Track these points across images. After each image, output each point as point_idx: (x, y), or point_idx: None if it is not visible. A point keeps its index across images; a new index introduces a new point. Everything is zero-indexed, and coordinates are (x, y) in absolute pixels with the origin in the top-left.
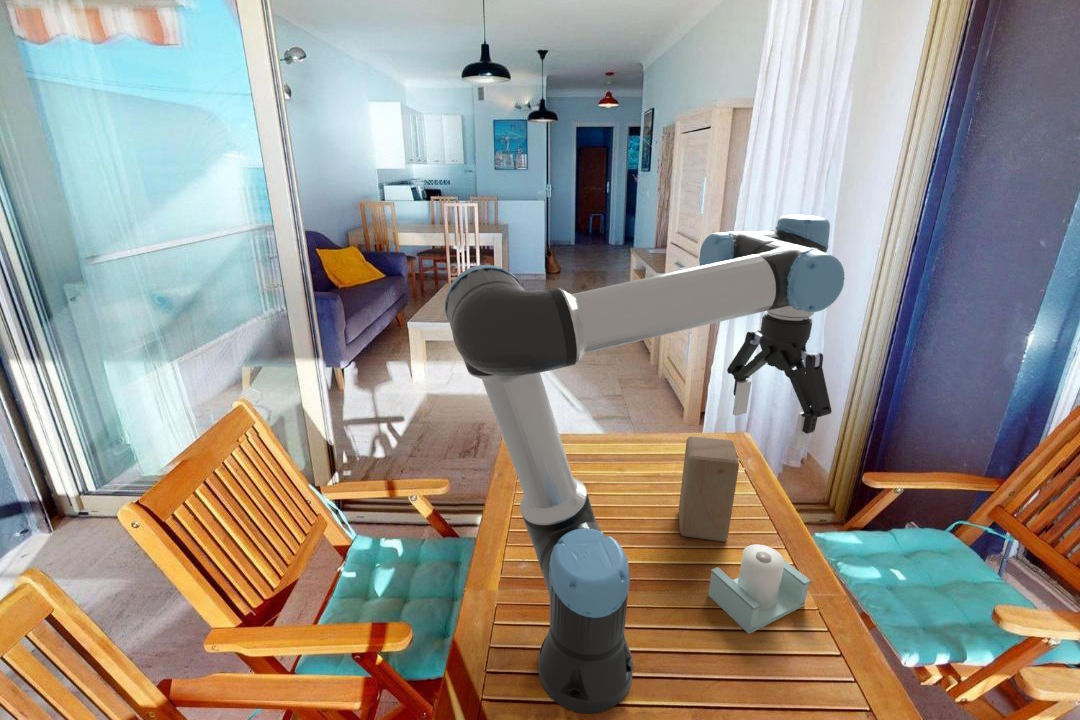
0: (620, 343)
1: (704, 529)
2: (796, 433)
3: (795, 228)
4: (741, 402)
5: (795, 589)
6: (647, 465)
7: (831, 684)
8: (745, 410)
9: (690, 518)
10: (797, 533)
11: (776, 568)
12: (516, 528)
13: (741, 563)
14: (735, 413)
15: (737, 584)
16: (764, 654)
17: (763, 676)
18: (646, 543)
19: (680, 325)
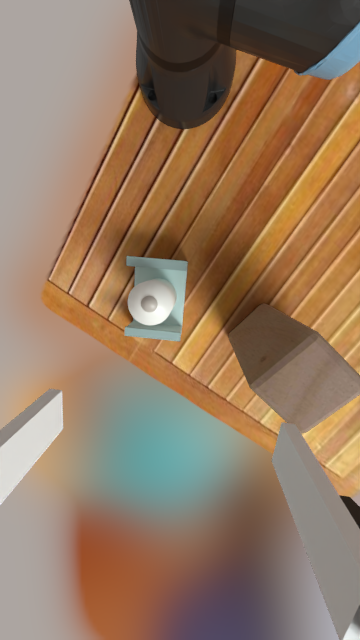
0: None
1: (247, 321)
2: (19, 424)
3: None
4: (296, 478)
5: (136, 324)
6: None
7: (73, 274)
8: (276, 464)
9: (263, 312)
10: (196, 401)
11: (130, 301)
12: None
13: (167, 287)
14: (286, 428)
15: (157, 268)
16: (116, 251)
17: (101, 232)
18: (279, 261)
19: None
